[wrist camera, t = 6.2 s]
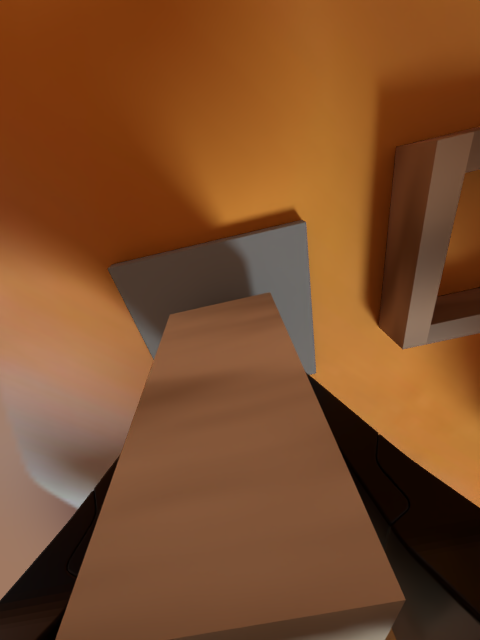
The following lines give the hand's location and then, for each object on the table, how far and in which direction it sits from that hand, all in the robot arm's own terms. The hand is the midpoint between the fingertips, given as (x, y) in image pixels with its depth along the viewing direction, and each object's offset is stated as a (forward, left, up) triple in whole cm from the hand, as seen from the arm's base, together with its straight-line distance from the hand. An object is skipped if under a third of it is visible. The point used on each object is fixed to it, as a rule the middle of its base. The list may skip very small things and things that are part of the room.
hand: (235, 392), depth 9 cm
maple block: (0, 0, -3) cm, 3 cm away
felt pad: (0, 0, -5) cm, 5 cm away
